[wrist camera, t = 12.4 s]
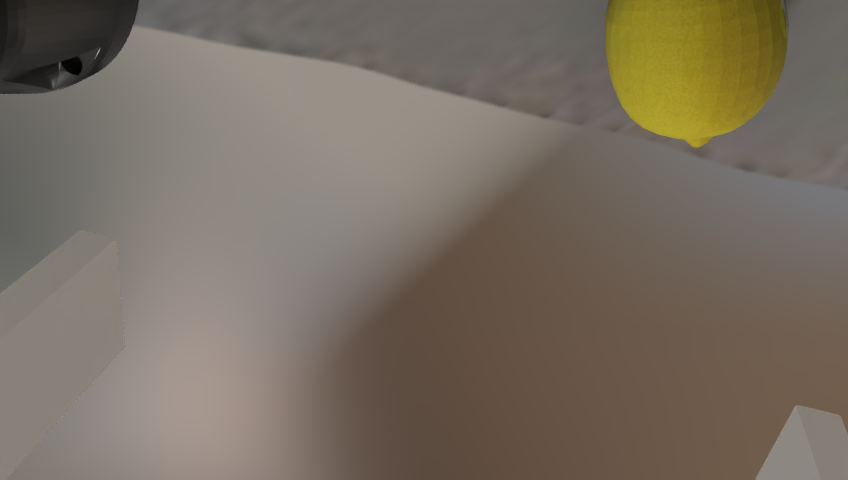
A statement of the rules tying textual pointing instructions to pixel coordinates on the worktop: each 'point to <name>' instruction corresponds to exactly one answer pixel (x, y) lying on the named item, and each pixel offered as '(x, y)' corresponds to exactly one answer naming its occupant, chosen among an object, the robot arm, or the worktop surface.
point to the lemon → (695, 62)
